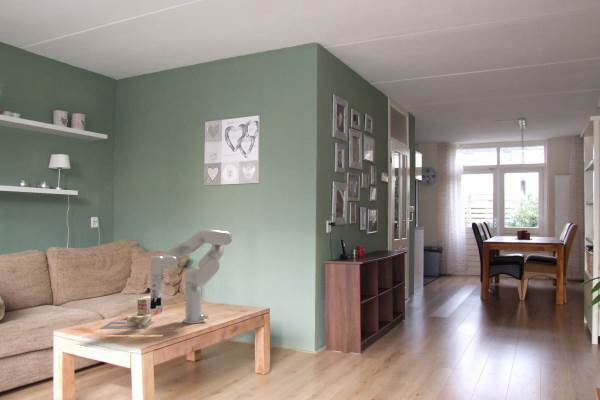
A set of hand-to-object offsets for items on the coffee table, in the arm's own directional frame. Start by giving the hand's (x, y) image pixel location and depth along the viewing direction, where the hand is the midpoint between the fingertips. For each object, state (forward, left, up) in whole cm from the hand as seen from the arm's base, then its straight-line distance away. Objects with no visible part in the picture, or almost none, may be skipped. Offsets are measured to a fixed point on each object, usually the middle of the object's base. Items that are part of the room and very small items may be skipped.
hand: (155, 307), depth 288 cm
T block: (+10, 0, -11) cm, 15 cm away
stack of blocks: (+13, -33, -12) cm, 37 cm away
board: (+16, 0, -12) cm, 20 cm away
